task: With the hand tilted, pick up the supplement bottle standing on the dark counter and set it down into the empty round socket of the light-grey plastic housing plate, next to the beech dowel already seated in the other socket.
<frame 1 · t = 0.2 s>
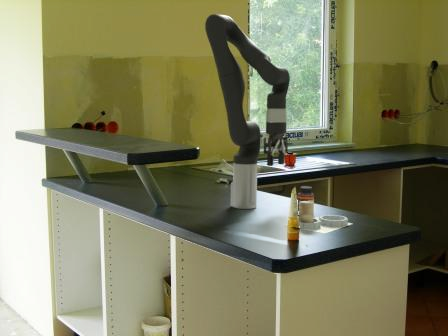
hand: (275, 164, 244), 18 cm above the table, tool pointing down, fingers open, 8 cm apart
dowel: (305, 226, 219), point 1 cm above the table, touching housing
housing: (319, 228, 221), on the table
supplement bottle: (304, 218, 237), on the table
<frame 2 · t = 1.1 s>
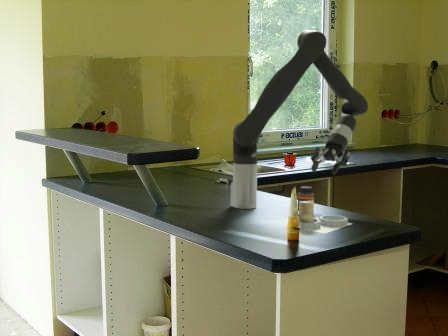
hand: (323, 172, 244), 16 cm above the table, tool tilted 45°, fingers open, 8 cm apart
nothing on the table moved.
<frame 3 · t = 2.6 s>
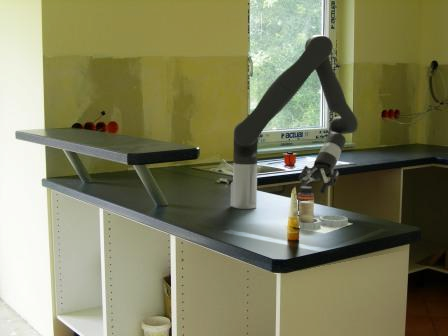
hand: (311, 191, 239), 9 cm above the table, tool tilted 45°, fingers open, 8 cm apart
nothing on the table moved.
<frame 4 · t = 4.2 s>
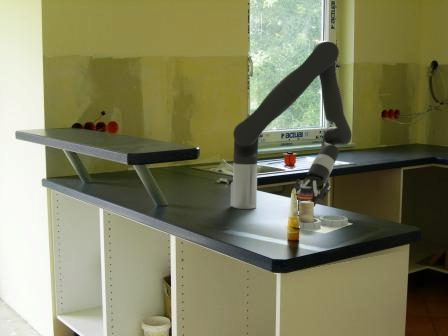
hand: (302, 205, 235), 5 cm above the table, tool tilted 45°, fingers closed on supplement bottle, 6 cm apart
supplement bottle: (304, 218, 237), on the table, touching gripper
everything else where it was.
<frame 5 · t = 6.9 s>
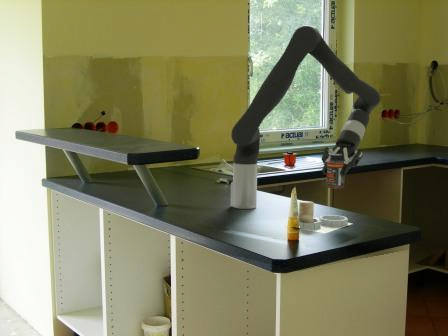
hand: (333, 174, 220), 18 cm above the table, tool tilted 45°, fingers closed on supplement bottle, 6 cm apart
supplement bottle: (335, 188, 222), point 13 cm above the table, touching gripper
everything else where it was.
when the fingers open (8 cm above the table, at t = 9.5 s): supplement bottle drops 2 cm, resting on housing.
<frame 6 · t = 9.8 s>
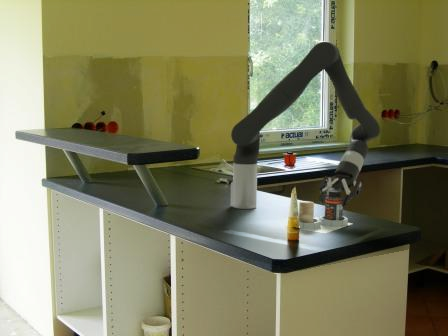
hand: (332, 204, 221), 8 cm above the table, tool tilted 45°, fingers open, 8 cm apart
supplement bottle: (333, 224, 223), point 1 cm above the table, touching housing
everything else where it was.
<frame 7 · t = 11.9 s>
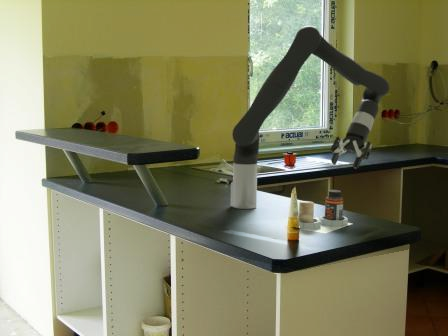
hand: (343, 165, 233), 19 cm above the table, tool tilted 35°, fingers open, 8 cm apart
nothing on the table moved.
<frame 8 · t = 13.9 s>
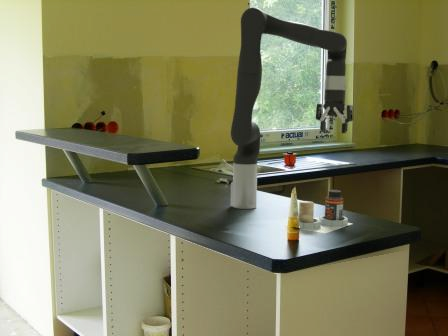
hand: (333, 132, 244), 30 cm above the table, tool pointing down, fingers open, 8 cm apart
nothing on the table moved.
at the end: supplement bottle 0.3 cm from the target spot on the housing, point 1.0 cm above the housing's base; supplement bottle tilted 0°; the gripper is holding nothing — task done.
